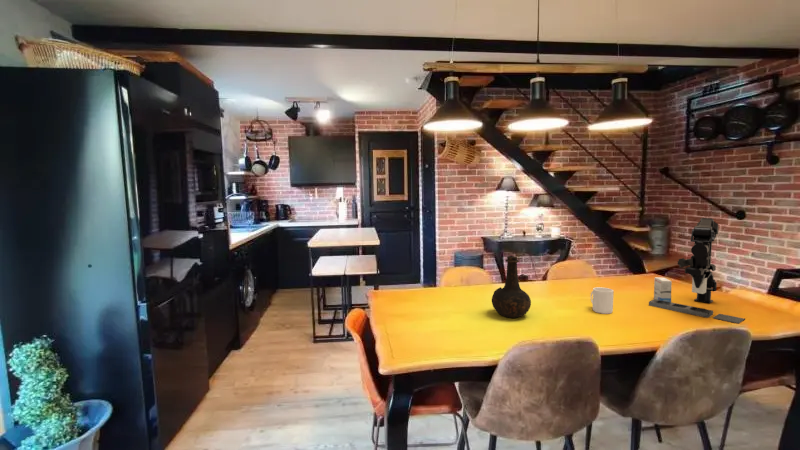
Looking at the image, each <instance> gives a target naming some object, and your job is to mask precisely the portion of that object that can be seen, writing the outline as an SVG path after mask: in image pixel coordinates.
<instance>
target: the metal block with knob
mask: <svg viewBox="0 0 800 450" xmlns="http://www.w3.org/2000/svg"><path fill="white" fill-rule="evenodd" d="M691 279H692V280H691V293H695V294H697V293H700V294H704V293H706V287H707V278H706V277H704V279H703V281H702V283H701V285H700V287H699V288H696V286H695V283H694V279H693V278H691Z"/></svg>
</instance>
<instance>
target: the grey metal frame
mask: <svg viewBox="0 0 800 450" xmlns="http://www.w3.org/2000/svg"><path fill="white" fill-rule="evenodd" d="M648 306H650V307H653V308H659V309H662V310H663V309H664V310H668V311H673V312H679V313H682V314H687V315H692V316H696V317H701V318H706V319H708V318H710V317H712V316H714V310H711V309H707V308H701V307H697V306H691V305H686V304H681V303H677V302H672V301H671V302H667V301H662V300H657V299H654V298H653V299H651V300H649V301H648Z"/></svg>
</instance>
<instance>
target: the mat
mask: <svg viewBox="0 0 800 450" xmlns="http://www.w3.org/2000/svg"><path fill="white" fill-rule="evenodd" d="M712 319H714V320H718V321H720V320H721V321H723V322H727V323H733V324H737V325H740V323H742V322H744V321H745V319H746V318H744V317H738V316H733V315H728V314H723V313H718V314H716V315H715V316H714V315H713V317H712Z"/></svg>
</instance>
